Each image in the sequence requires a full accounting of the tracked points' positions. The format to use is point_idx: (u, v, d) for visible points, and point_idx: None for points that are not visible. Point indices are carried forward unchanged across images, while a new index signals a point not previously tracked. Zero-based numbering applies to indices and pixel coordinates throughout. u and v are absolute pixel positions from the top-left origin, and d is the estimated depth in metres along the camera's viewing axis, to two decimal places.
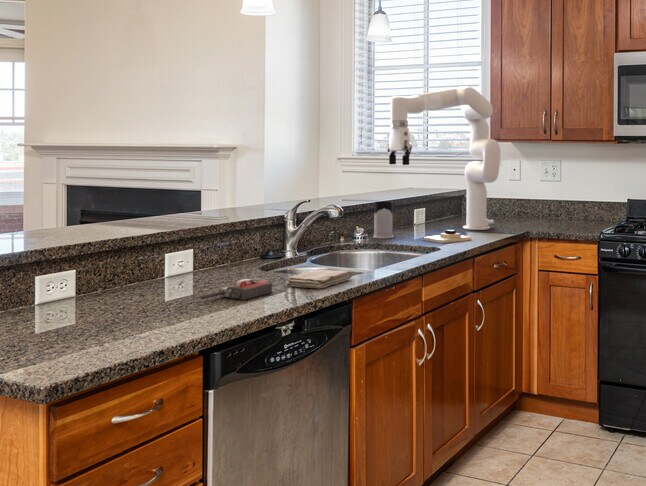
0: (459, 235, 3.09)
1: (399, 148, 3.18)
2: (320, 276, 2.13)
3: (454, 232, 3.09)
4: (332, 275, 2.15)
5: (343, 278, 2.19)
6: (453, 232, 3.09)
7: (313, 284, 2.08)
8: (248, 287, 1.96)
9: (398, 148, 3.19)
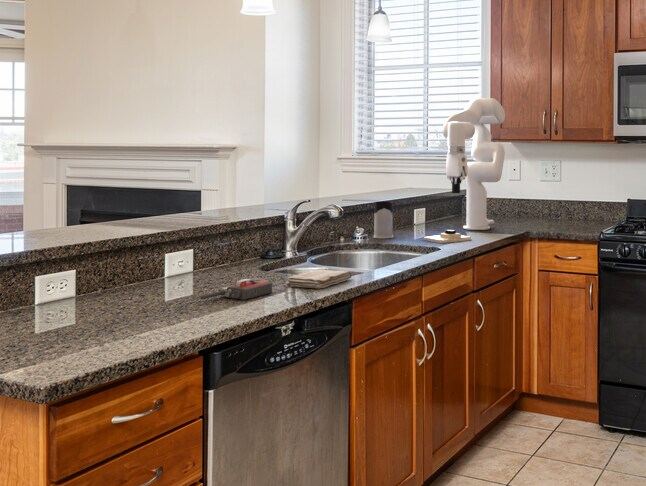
0: (459, 235, 3.09)
1: (457, 174, 3.17)
2: (320, 276, 2.13)
3: (454, 232, 3.09)
4: (332, 275, 2.15)
5: (343, 278, 2.19)
6: (453, 232, 3.09)
7: (313, 284, 2.08)
8: (248, 287, 1.96)
9: (455, 174, 3.18)
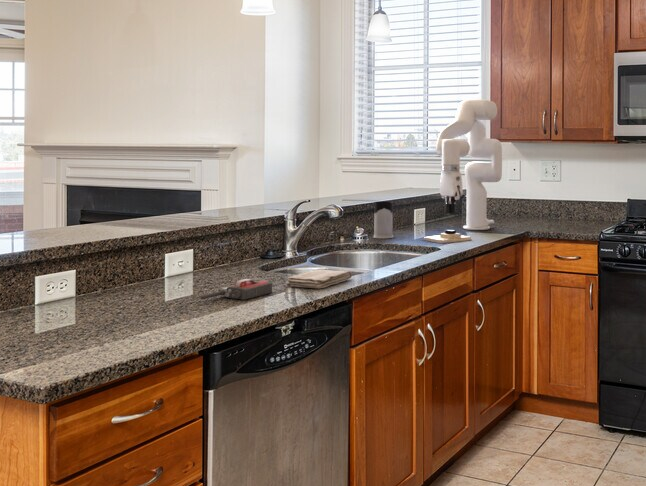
0: (459, 235, 3.09)
1: (451, 193, 3.06)
2: (320, 276, 2.13)
3: (454, 232, 3.09)
4: (332, 275, 2.15)
5: (343, 278, 2.19)
6: (453, 232, 3.09)
7: (313, 284, 2.08)
8: (248, 287, 1.96)
9: (450, 193, 3.06)
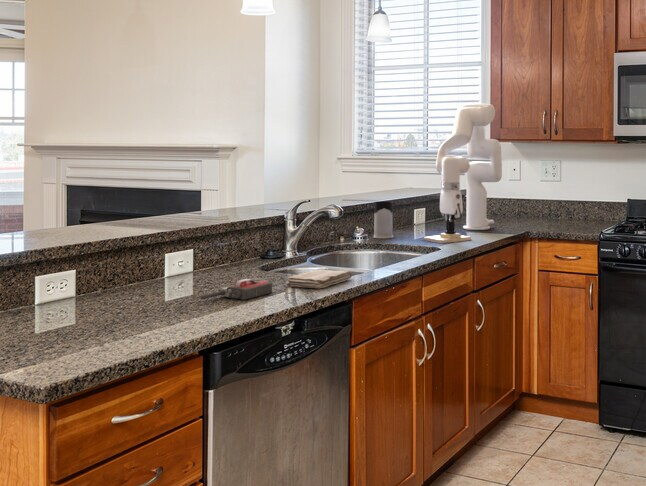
0: (459, 235, 3.09)
1: (451, 211, 3.06)
2: (320, 276, 2.13)
3: (454, 233, 3.09)
4: (332, 275, 2.15)
5: (343, 278, 2.19)
6: (453, 233, 3.09)
7: (313, 284, 2.08)
8: (248, 287, 1.96)
9: (450, 211, 3.06)
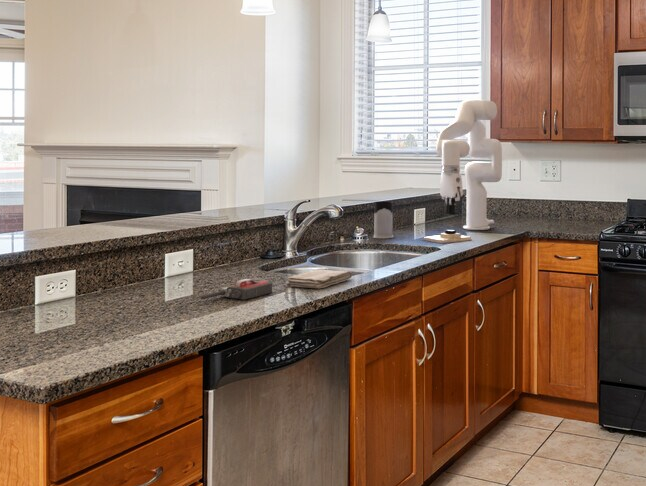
0: (459, 235, 3.09)
1: (451, 195, 3.06)
2: (320, 276, 2.13)
3: (454, 232, 3.09)
4: (332, 275, 2.15)
5: (343, 278, 2.19)
6: (453, 232, 3.09)
7: (313, 284, 2.08)
8: (248, 287, 1.96)
9: (450, 194, 3.06)
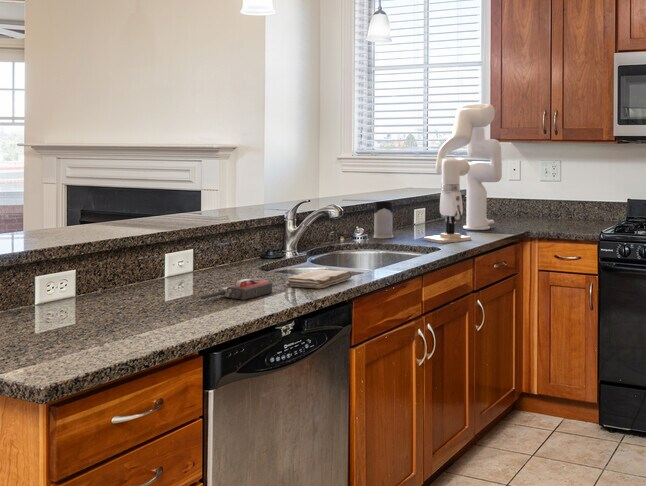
0: (459, 235, 3.09)
1: (451, 213, 3.06)
2: (320, 276, 2.13)
3: None
4: (332, 275, 2.15)
5: (343, 278, 2.19)
6: None
7: (313, 284, 2.08)
8: (248, 287, 1.96)
9: (450, 213, 3.06)
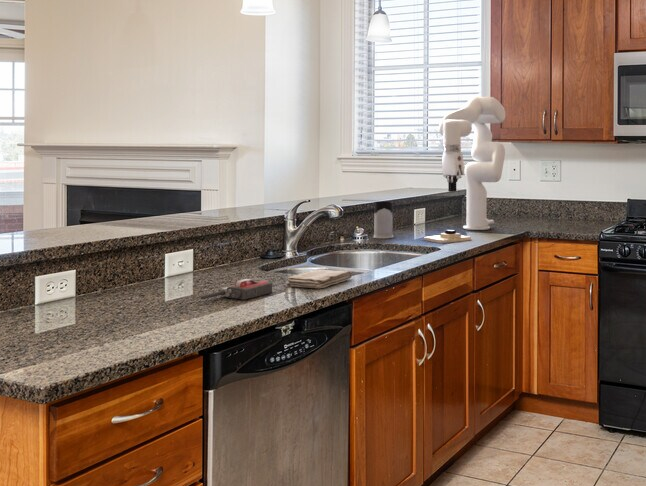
0: (459, 235, 3.09)
1: (453, 173, 3.18)
2: (320, 276, 2.13)
3: (454, 232, 3.09)
4: (332, 275, 2.15)
5: (343, 278, 2.19)
6: (453, 232, 3.09)
7: (313, 284, 2.08)
8: (248, 287, 1.96)
9: (452, 173, 3.18)
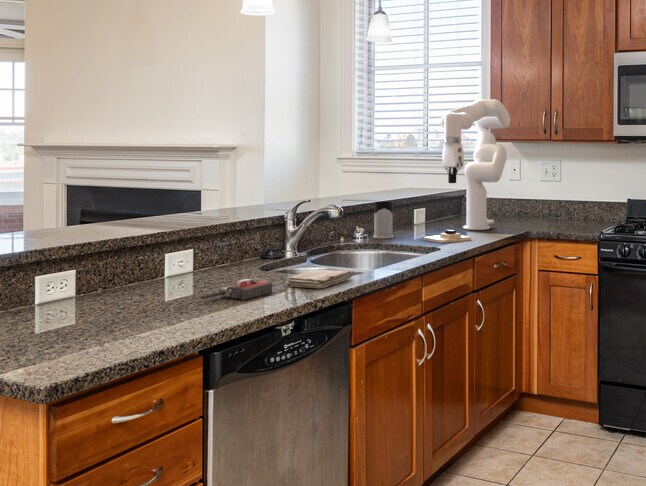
0: (459, 235, 3.09)
1: (453, 164, 3.22)
2: (320, 276, 2.13)
3: (454, 232, 3.09)
4: (332, 275, 2.15)
5: (343, 278, 2.19)
6: (453, 232, 3.09)
7: (313, 284, 2.08)
8: (248, 287, 1.96)
9: (452, 164, 3.22)
